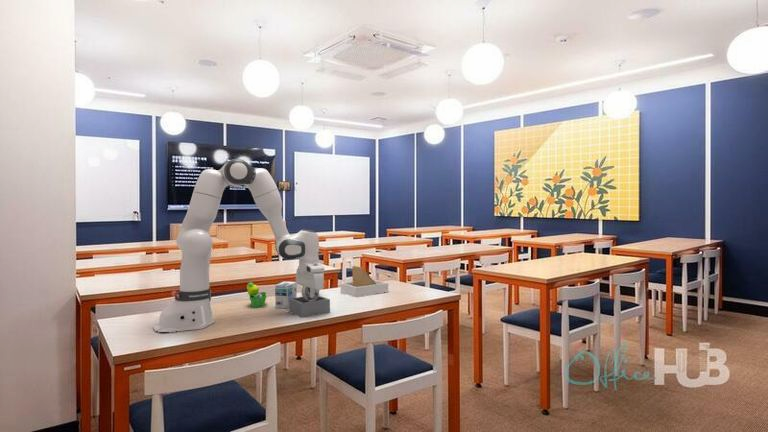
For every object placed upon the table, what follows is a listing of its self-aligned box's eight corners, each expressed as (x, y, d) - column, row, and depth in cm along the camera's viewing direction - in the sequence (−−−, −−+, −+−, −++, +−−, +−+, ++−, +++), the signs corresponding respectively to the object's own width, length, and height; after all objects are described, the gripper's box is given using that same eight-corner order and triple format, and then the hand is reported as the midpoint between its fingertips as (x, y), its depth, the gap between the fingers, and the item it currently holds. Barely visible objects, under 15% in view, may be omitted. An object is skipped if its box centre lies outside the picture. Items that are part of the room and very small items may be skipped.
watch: (321, 307, 206) (321, 283, 206) (305, 310, 202) (305, 285, 201) (315, 305, 211) (315, 281, 211) (299, 308, 206) (299, 283, 206)
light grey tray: (355, 297, 237) (355, 287, 237) (340, 292, 249) (340, 283, 249) (388, 292, 249) (388, 283, 249) (372, 287, 261) (372, 279, 261)
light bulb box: (288, 308, 213) (288, 285, 212) (274, 308, 214) (274, 285, 214) (297, 303, 223) (297, 281, 223) (284, 302, 225) (284, 281, 224)
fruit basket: (266, 307, 215) (266, 283, 215) (246, 308, 213) (246, 284, 212) (265, 302, 226) (265, 279, 226) (247, 303, 224) (246, 280, 223)
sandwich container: (384, 292, 251) (384, 264, 250) (361, 295, 241) (361, 267, 240) (374, 289, 257) (374, 262, 257) (352, 293, 248) (352, 265, 247)
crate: (301, 317, 197) (301, 303, 197) (289, 311, 207) (289, 298, 206) (329, 312, 205) (329, 299, 205) (317, 307, 215) (316, 294, 215)
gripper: (292, 263, 212) (292, 293, 212) (313, 269, 195) (313, 301, 196) (304, 262, 215) (304, 292, 216) (326, 268, 199) (326, 299, 200)
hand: (309, 296), depth 206 cm, fingers closed on watch, 3 cm apart
